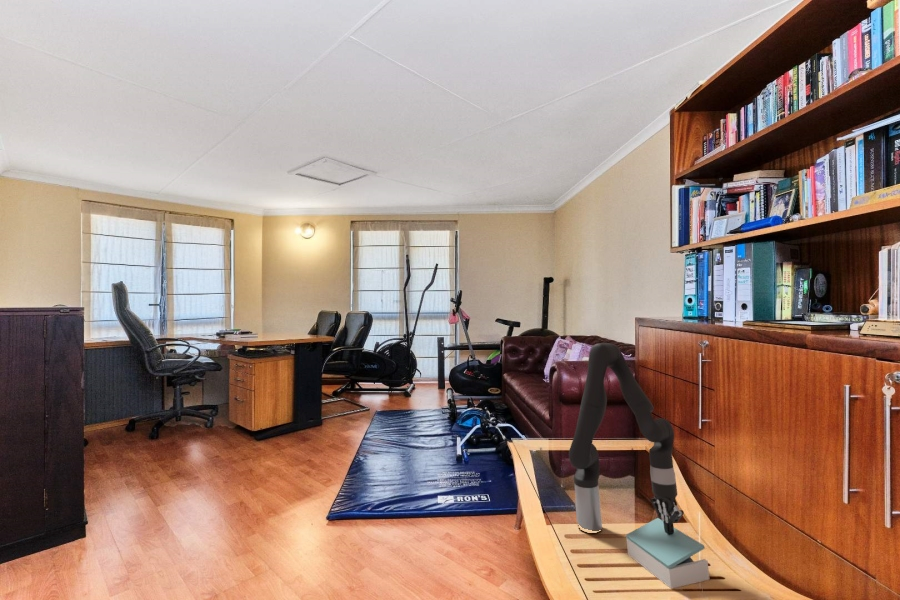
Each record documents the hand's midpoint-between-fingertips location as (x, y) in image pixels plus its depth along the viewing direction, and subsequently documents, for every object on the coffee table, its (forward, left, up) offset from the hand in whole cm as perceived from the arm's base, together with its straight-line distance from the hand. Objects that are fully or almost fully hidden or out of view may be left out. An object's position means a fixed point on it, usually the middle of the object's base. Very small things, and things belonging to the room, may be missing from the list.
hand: (669, 533), depth 132 cm
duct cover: (+1, -3, -2) cm, 4 cm away
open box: (+1, -3, -10) cm, 10 cm away
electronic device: (+1, -2, -10) cm, 10 cm away
